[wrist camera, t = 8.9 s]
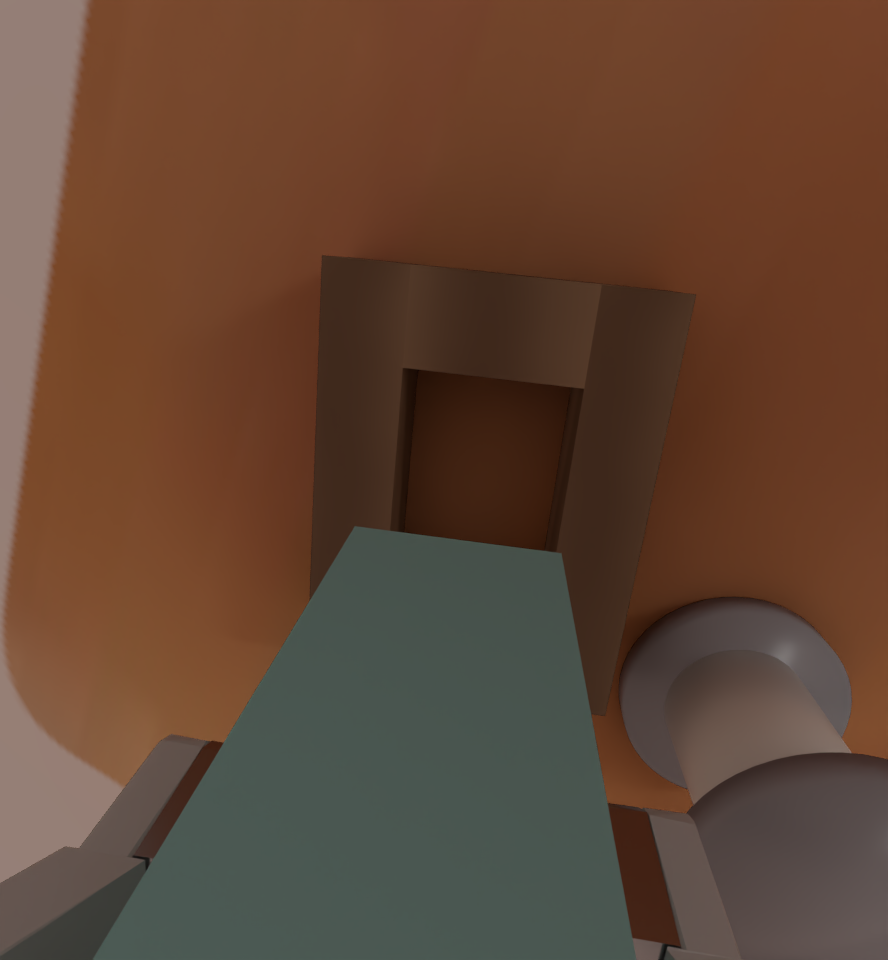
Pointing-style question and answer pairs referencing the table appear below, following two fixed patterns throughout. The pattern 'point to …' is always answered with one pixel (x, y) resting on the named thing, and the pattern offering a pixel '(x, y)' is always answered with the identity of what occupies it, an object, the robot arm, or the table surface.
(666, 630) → the spool
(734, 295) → the table surface
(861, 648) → the table surface
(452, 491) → the table surface
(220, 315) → the table surface
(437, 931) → the tab
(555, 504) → the board
